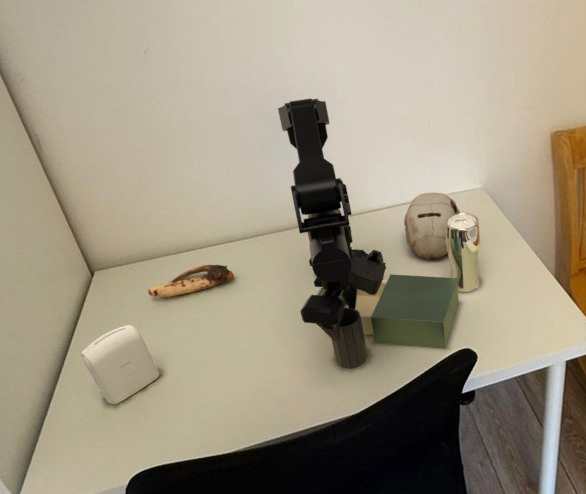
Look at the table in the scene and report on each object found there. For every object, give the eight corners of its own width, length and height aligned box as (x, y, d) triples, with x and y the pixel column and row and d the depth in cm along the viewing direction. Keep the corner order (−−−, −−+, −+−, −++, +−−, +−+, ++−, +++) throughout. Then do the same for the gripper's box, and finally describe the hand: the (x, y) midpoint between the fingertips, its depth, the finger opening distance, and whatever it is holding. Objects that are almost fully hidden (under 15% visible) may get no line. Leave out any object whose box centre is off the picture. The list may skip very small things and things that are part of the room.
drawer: (305, 332, 123) (300, 313, 120) (327, 293, 133) (323, 275, 130) (388, 338, 120) (385, 319, 117) (404, 298, 130) (402, 279, 127)
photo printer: (113, 409, 112) (84, 356, 104) (101, 398, 114) (71, 346, 106) (164, 376, 117) (140, 324, 110) (152, 367, 120) (127, 315, 112)
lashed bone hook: (232, 267, 146) (151, 286, 142) (227, 249, 143) (144, 268, 139) (237, 287, 139) (151, 307, 135) (231, 268, 136) (144, 288, 132)
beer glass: (479, 294, 130) (476, 230, 121) (445, 292, 131) (441, 229, 122) (483, 275, 135) (481, 212, 126) (451, 274, 137) (447, 211, 127)
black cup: (332, 366, 116) (322, 326, 110) (342, 346, 120) (333, 306, 114) (362, 369, 115) (354, 328, 109) (371, 349, 119) (363, 308, 113)
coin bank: (441, 217, 156) (439, 169, 146) (482, 252, 145) (483, 203, 136) (386, 240, 150) (380, 191, 141) (424, 278, 140) (421, 229, 130)
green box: (375, 342, 121) (370, 317, 117) (393, 299, 131) (390, 274, 127) (445, 348, 118) (443, 322, 114) (458, 303, 128) (457, 278, 124)
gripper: (359, 283, 94) (373, 362, 104) (391, 221, 108) (401, 296, 117) (290, 279, 96) (310, 356, 106) (330, 219, 110) (344, 292, 120)
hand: (344, 324), depth 112 cm, fingers open, 9 cm apart
